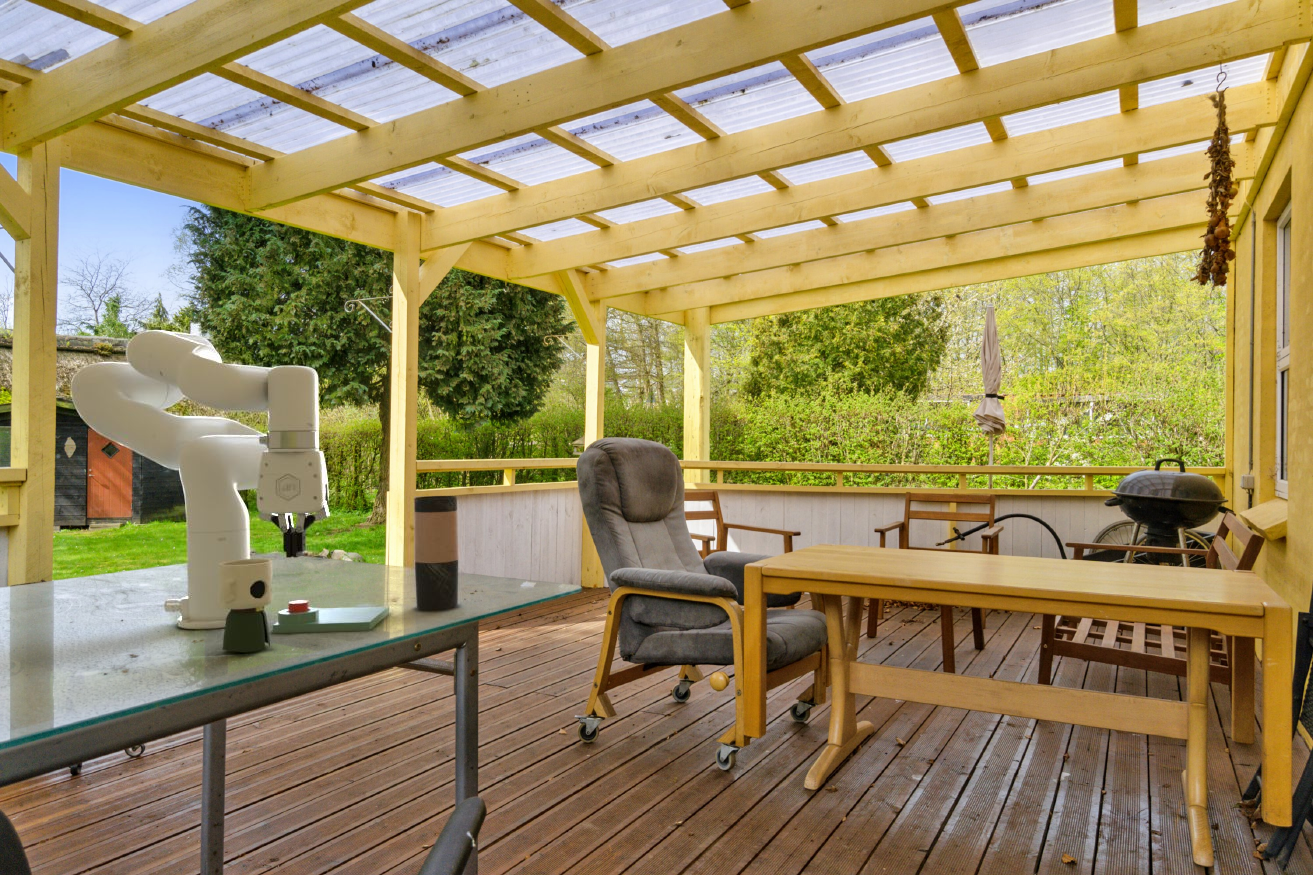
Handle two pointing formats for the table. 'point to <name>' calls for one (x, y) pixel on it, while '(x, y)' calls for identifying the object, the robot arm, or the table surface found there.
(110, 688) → the table surface
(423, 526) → the travel mug
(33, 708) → the table surface
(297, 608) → the button
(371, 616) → the scale
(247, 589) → the character mug
